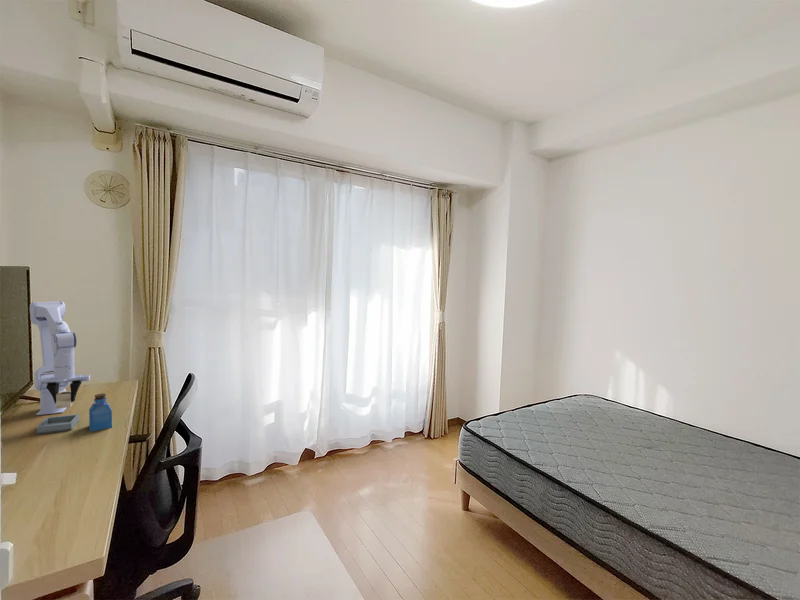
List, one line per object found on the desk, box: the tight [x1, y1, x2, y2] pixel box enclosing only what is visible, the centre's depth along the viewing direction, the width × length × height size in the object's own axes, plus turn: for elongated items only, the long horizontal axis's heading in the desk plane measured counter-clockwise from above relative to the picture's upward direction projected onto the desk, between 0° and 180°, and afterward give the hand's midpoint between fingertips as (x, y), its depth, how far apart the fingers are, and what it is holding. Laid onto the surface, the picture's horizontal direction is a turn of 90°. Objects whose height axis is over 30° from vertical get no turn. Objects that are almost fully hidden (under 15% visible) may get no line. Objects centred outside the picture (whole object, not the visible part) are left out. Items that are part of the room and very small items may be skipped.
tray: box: [36, 413, 80, 435], centre depth 137 cm, size 9×9×2 cm
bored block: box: [56, 390, 75, 409], centre depth 139 cm, size 4×4×5 cm
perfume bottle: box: [88, 393, 113, 432], centre depth 139 cm, size 6×6×12 cm
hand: (65, 401), depth 139 cm, fingers closed on bored block, 4 cm apart
